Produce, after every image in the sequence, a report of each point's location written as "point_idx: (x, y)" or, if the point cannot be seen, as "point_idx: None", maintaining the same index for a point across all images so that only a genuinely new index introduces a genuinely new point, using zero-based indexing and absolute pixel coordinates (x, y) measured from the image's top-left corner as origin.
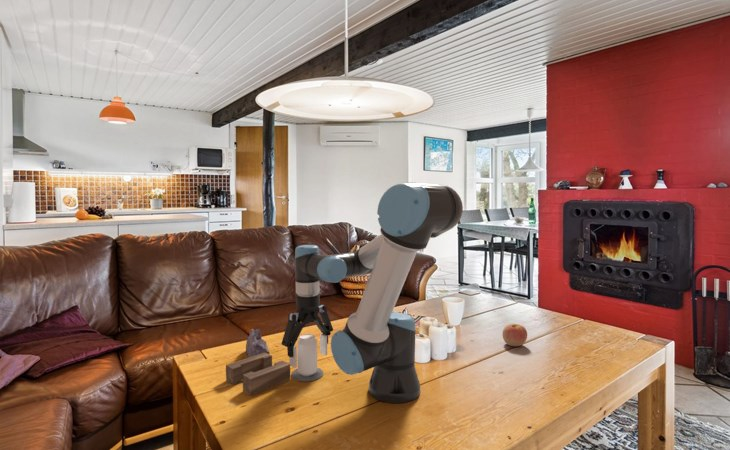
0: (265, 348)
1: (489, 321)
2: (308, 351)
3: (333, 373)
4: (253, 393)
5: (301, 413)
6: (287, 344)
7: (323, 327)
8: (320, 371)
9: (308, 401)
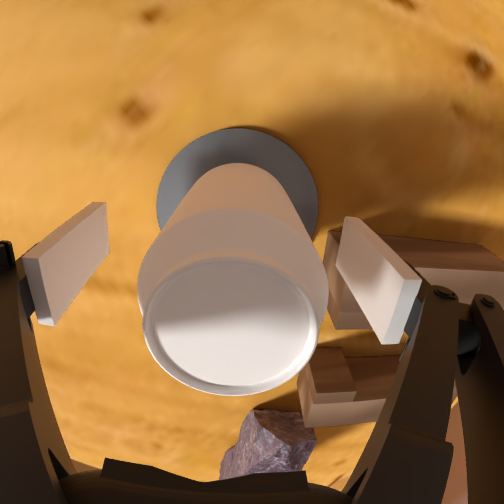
0: (282, 444)
1: None
2: (286, 211)
3: (138, 119)
4: (477, 246)
5: (471, 18)
6: (496, 303)
7: (2, 318)
8: (177, 173)
9: (414, 34)
